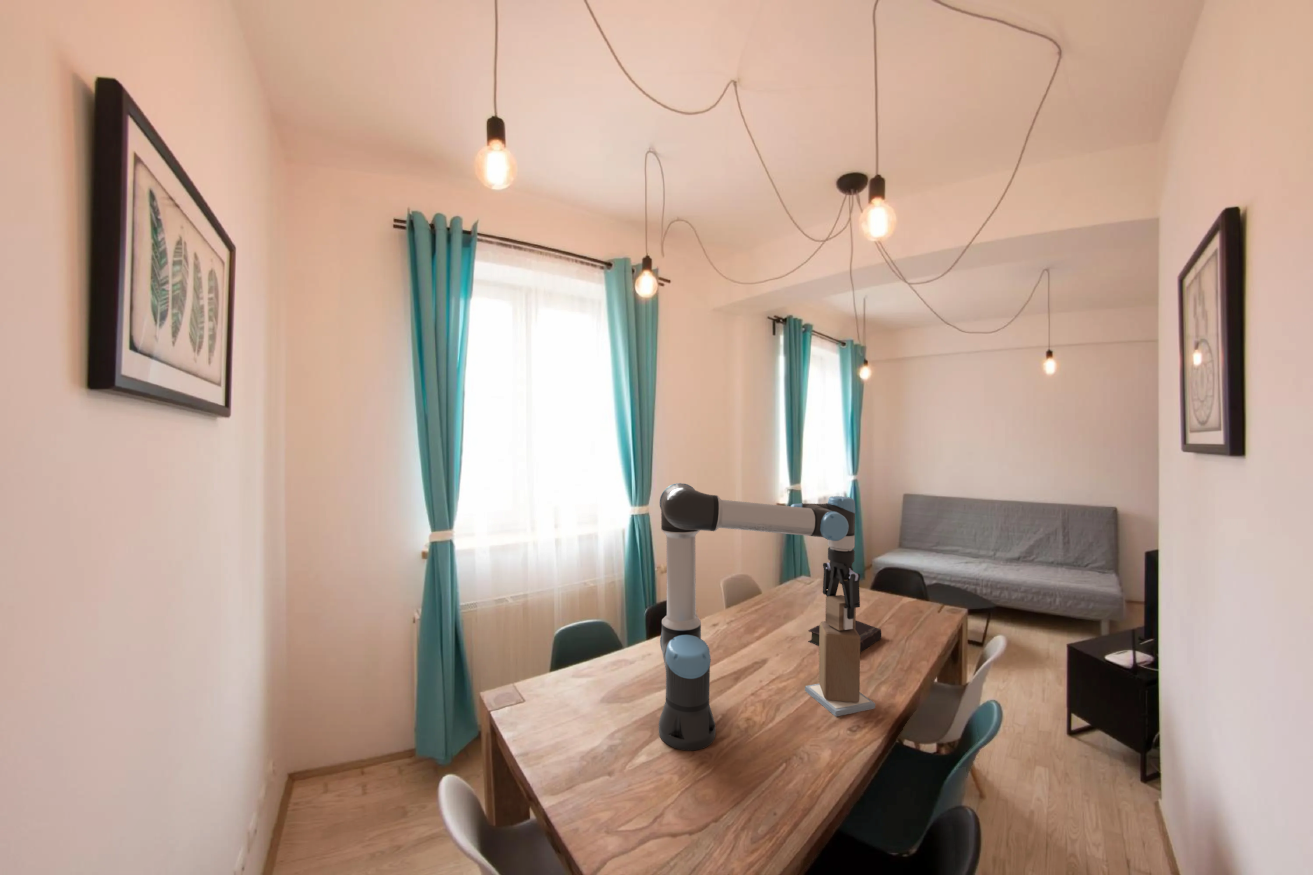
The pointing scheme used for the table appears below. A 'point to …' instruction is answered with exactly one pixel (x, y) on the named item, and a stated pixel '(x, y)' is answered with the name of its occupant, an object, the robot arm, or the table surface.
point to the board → (839, 702)
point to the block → (839, 663)
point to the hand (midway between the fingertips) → (840, 624)
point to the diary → (865, 632)
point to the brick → (836, 612)
